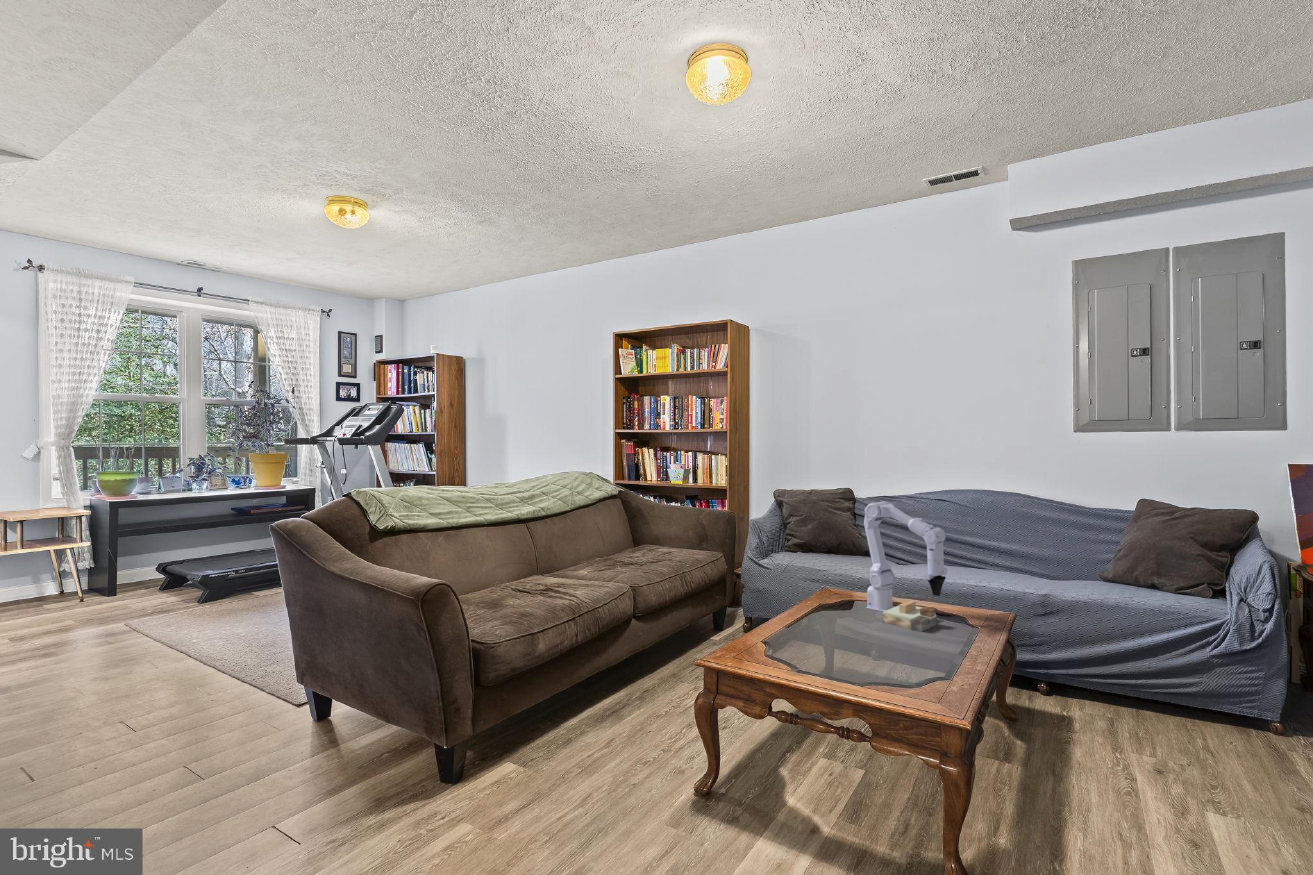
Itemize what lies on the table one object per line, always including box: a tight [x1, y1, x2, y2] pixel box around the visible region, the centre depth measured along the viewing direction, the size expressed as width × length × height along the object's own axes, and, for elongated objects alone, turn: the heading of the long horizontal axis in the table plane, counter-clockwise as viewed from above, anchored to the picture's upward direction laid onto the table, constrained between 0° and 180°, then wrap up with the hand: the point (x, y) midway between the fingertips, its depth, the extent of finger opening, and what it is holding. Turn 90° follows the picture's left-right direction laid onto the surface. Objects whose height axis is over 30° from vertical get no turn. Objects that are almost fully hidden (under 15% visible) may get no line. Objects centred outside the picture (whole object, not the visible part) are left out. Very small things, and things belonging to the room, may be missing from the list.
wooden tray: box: [881, 613, 938, 633], centre depth 240 cm, size 16×17×4 cm
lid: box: [881, 599, 937, 620], centre depth 240 cm, size 16×16×5 cm
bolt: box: [920, 606, 937, 617], centre depth 236 cm, size 4×4×2 cm
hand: (936, 595), depth 240 cm, fingers closed
